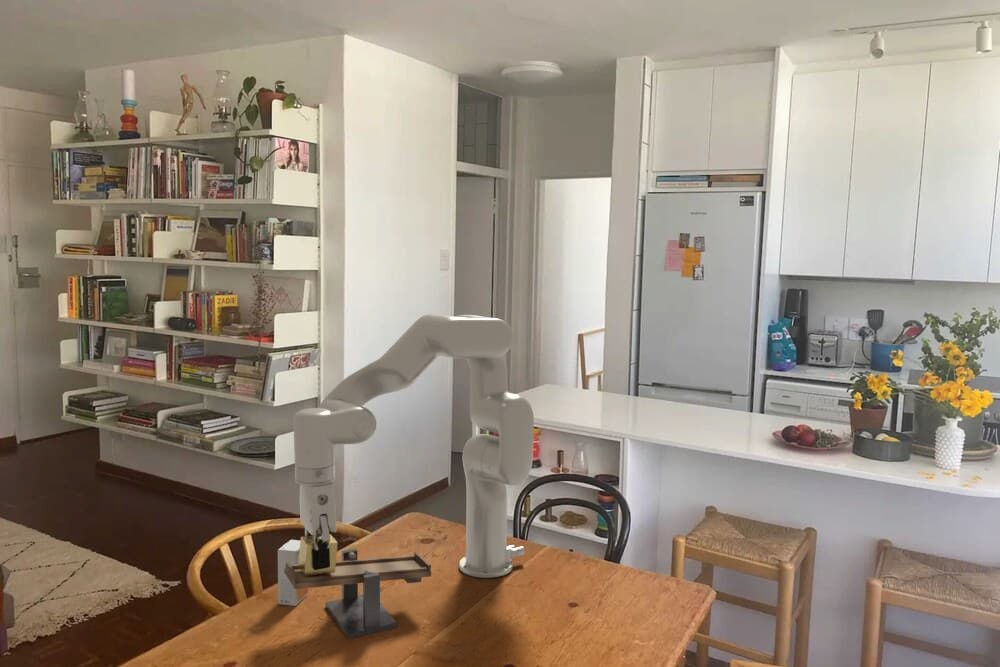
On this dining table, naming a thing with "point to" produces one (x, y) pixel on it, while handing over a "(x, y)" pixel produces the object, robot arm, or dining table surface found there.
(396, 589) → the dining table surface
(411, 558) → the beam
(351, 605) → the stand
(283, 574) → the skincare box
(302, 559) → the block
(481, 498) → the robot arm
